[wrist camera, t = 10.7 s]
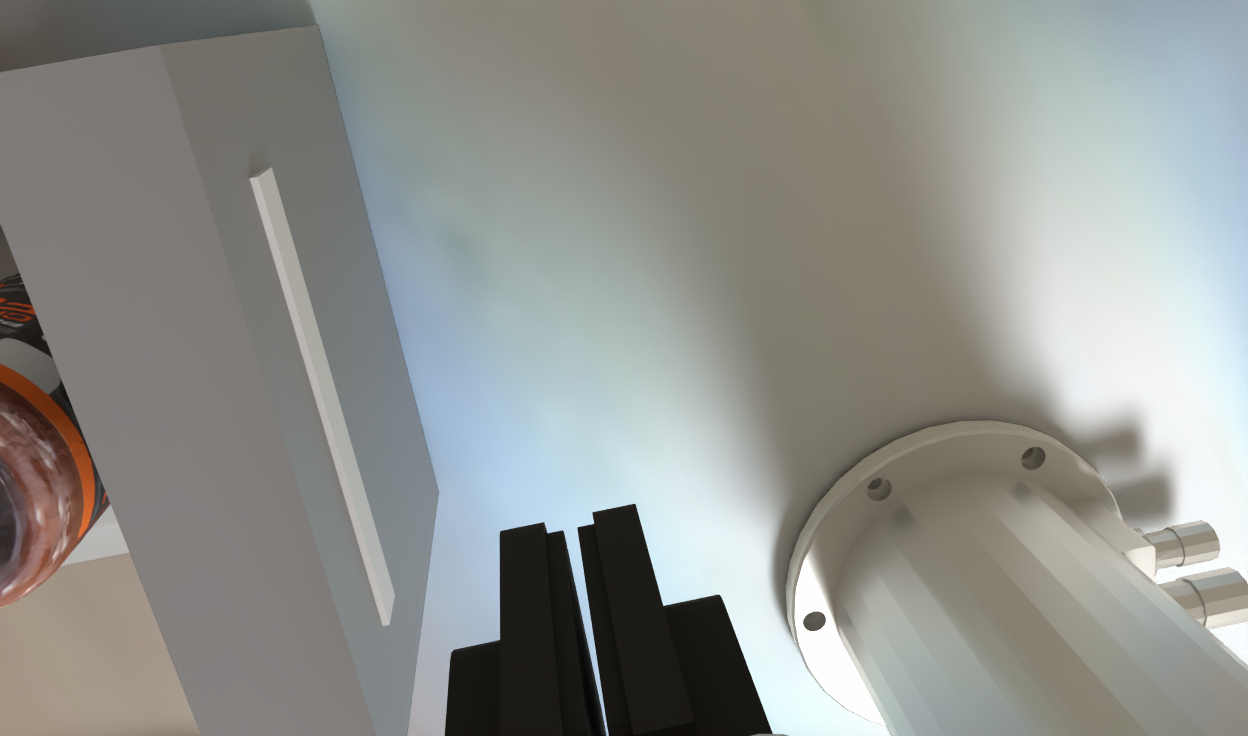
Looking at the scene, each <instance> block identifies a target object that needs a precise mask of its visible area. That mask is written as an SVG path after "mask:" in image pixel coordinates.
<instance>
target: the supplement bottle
mask: <svg viewBox="0 0 1248 736" xmlns="http://www.w3.org/2000/svg"><path fill="white" fill-rule="evenodd" d="M109 505H110V501H109V499H108V496H107V494H106V491H105V489H104V486H103V484H102V481H101V479H100V476H99V473H98V471H97V468H96V466H95V463H94V461H93V458H92V456H91V453H90V451H89V448H88V445H87V443H86V440H85V438H84V435H83V433H82V430H81V428H80V425H79V423H78V420H77V417H76V415H75V412H74V410H73V407H72V405H71V402H70V400H69V397H68V395H67V392H66V389H65V387H64V384H63V382H62V379H61V377H60V374H59V372H58V369H57V367H56V364H55V362H54V359H53V356H52V354H51V351H50V349H49V346H48V344H47V341H46V339H45V336H44V334H43V331H42V328H41V326H40V323H39V321H38V318H37V316H36V313H35V311H34V308H33V306H32V303H31V300H30V298H29V295H28V293H27V290H26V288H25V285H24V283H23V280H22V278H21V275H20V273H18V274H15V275H14V276H9V277H6V278H4V279H2V280H1V281H0V608H2V607H4V606H7V605H9V604H11V603H13V602H15V601H17V600H19V599H21V598H22V597H24V596H26V595H28V594H29V593H31V592H32V591H33V590H35V589H36V588H37V587H39V586H40V585H41V584H42V583H44V582H45V581H46V580H47V579H48V578H49V577H50V576H51V575H52V574H53V573H55V572H56V571H57V569H58V568H59V567H60V566H61V565H62V564H63V562H64V561H65V560H66V559H67V557H68V556H69V555H70V554H71V553H72V551H73V550H74V549H75V548H76V547H77V545H78V544H79V543H80V542H81V541H82V540H83V538H84V537H85V535H86V534H87V533H88V532H89V530H90V529H91V528H92V527H93V526H94V524H95V523H96V522H97V520H98V519H99V518H100V517H101V515H102V514H103V513H104V512H105V510H106V509H107V508H108V507H109Z"/></svg>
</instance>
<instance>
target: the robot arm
mask: <svg viewBox="0 0 1248 736" xmlns="http://www.w3.org/2000/svg"><path fill="white" fill-rule="evenodd" d="M873 480H875V481H874V482H873V483H871V482H872V481H873ZM870 483H871V484H870ZM592 513H593V519H594V524H592V525H587V526H582V527H578V535H579V542H580V549H581V555H582V562H583V568H584V575H585V582H586V588H587V595H588V602H589V608H590V615H591V621H592V628H593V635H594V641H595V648H596V655H597V661H598V668H599V674H600V681H601V688H602V694H603V701H604V708H605V714H606V721H607V727H608V733H609V736H788V735H784V734H773V733H772V731H771V728H770V725H769V723H768V720H767V717H766V715H765V712H764V709H763V707H762V704H761V701H760V698H759V696H758V693H757V690H756V688H755V685H754V682H753V680H752V677H751V674H750V672H749V669H748V666H747V664H746V661H745V658H744V656H743V653H742V650H741V648H740V645H739V642H738V640H737V637H736V634H735V632H734V629H733V626H732V624H731V621H730V618H729V616H728V613H727V610H726V607H725V605H724V602H723V600H722V598H721V596H720V595H714V596H709V597H704V598H700V599H695V600H690V601H685V602H680V603H676V604H671V605H666V606H663V603H662V600H661V596H660V592H659V589H658V585H657V581H656V578H655V574H654V570H653V567H652V563H651V559H650V556H649V552H648V548H647V545H646V541H645V537H644V534H643V530H642V526H641V523H640V519H639V515H638V512H637V508H636V505H635V504H631V505H626V506H622V507H617V508H612V509H607V510H602V511H597V512H592ZM1219 552H1220V546H1219V540H1218V537H1217V535H1216V533H1215V531H1214V529H1213V528H1212V527H1211V526H1210V525H1209V524H1208V523H1207V522H1204V521H1202V520H1200V521H1196V522H1191V523H1186V524H1181V525H1176V526H1171V527H1167V528H1165V529H1164V530H1162V531H1157V532H1152V533H1147V534H1145V533H1144V532H1143V531H1142V530H1140V529H1137V528H1131V527H1130V526H1128V525H1127V524H1126V523H1125V522H1124V520H1123V517H1122V515H1121V512H1120V510H1119V507H1118V505H1117V502H1116V500H1115V497H1114V495H1113V493H1112V492H1111V490H1110V489H1109V487H1108V486H1107V485H1106V483H1105V482H1104V480H1103V479H1102V478H1101V476H1100V475H1099V473H1098V472H1097V471H1096V470H1095V469H1094V468H1092V467H1091V466H1090V465H1089V464H1088V463H1087V462H1085V461H1084V460H1083V459H1082V458H1081V457H1080V456H1079V455H1077V454H1076V453H1075V452H1074V451H1072V450H1071V449H1069V448H1068V447H1066V446H1065V445H1063V444H1062V443H1060V442H1059V441H1058V440H1056V439H1055V438H1053V437H1052V436H1049V435H1046V434H1044V433H1041V432H1039V431H1036V430H1034V429H1031V428H1029V427H1026V426H1023V425H1017V424H1012V423H1006V422H1000V421H994V420H985V421H958V422H953V423H948V424H943V425H938V426H933V427H928V428H925V429H922V430H920V431H917V432H915V433H912V434H909V435H907V436H904V437H902V438H899V439H896V440H894V441H892V442H891V443H889V444H887V445H886V446H884V447H882V448H881V449H879V450H877V451H875V452H874V453H872V454H870V455H869V456H867V457H865V458H864V459H863V460H862V461H860V462H859V463H858V464H857V465H856V466H854V467H853V468H852V469H851V470H850V471H848V472H847V473H846V474H845V475H844V476H842V477H841V478H840V479H839V480H838V481H837V482H836V483H835V484H834V485H833V487H832V488H831V489H830V490H829V491H828V492H827V494H826V495H825V496H824V497H823V498H822V499H821V501H820V502H819V503H818V504H817V505H816V507H815V509H814V510H813V512H812V514H811V515H810V517H809V519H808V521H807V522H806V524H805V526H804V527H803V529H802V531H801V532H800V535H799V538H798V540H797V543H796V546H795V549H794V551H793V554H792V557H791V560H790V563H789V570H788V577H787V583H786V590H785V592H786V607H787V619H788V622H789V626H790V629H791V632H792V636H793V639H794V642H795V645H796V647H797V649H798V651H799V653H800V655H801V657H802V659H803V661H804V663H805V666H806V668H807V670H808V671H809V672H810V674H811V675H812V676H813V678H814V679H815V680H816V682H817V683H818V684H819V686H820V687H821V688H822V690H823V691H824V692H826V693H827V694H828V695H829V696H830V697H832V698H833V699H834V700H835V701H836V702H838V703H839V704H840V705H841V706H842V707H844V708H845V709H847V710H849V711H851V712H853V713H855V714H857V715H859V716H861V717H862V718H864V719H866V720H869V721H872V722H875V723H878V724H881V725H884V726H886V728H887V730H888V731H889V733H890V735H891V736H1248V665H1247V664H1246V663H1244V662H1243V661H1242V660H1241V659H1240V658H1239V657H1238V656H1237V655H1236V654H1234V653H1233V652H1232V651H1231V650H1230V649H1229V648H1228V647H1227V646H1225V645H1224V644H1223V643H1222V642H1221V641H1220V640H1219V639H1218V638H1216V637H1215V636H1214V635H1213V634H1212V633H1211V632H1210V631H1209V629H1214V628H1218V627H1223V626H1228V625H1232V624H1237V623H1242V622H1246V621H1248V584H1247V582H1246V580H1245V579H1244V578H1243V577H1242V576H1241V575H1240V574H1239V573H1238V571H1236V570H1234V569H1231V568H1229V567H1227V568H1222V569H1218V570H1213V571H1208V572H1203V573H1199V574H1194V575H1189V576H1184V577H1181V578H1178V579H1176V580H1175V581H1173V582H1168V583H1163V584H1158V585H1157V584H1156V583H1155V575H1156V572H1157V569H1162V568H1167V567H1171V566H1177V567H1181V566H1186V565H1190V564H1195V563H1200V562H1205V561H1210V560H1213V559H1215V558H1218V555H1219ZM445 736H606V731H605V725H604V720H603V715H602V709H601V705H600V700H599V695H598V690H597V686H596V681H595V676H594V671H593V667H592V662H591V657H590V653H589V648H588V643H587V638H586V634H585V629H584V624H583V620H582V615H581V610H580V605H579V601H578V596H577V591H576V586H575V582H574V577H573V572H572V568H571V563H570V558H569V553H568V549H567V544H566V539H565V535H564V531H563V530H562V531H557V532H552V533H548V534H547V530H546V527H545V524H544V522H543V523H538V524H533V525H528V526H523V527H518V528H513V529H508V530H503V531H500V640H499V641H494V642H489V643H484V644H480V645H475V646H470V647H465V648H460V649H456V650H453V652H452V653H451V659H450V670H449V684H448V698H447V713H446V727H445Z"/></svg>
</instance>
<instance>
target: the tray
mask: <svg viewBox="0 0 1248 736" xmlns="http://www.w3.org/2000/svg"><path fill="white" fill-rule="evenodd" d="M18 273H20V275H21V278H22V280H23V283H24V285H25V288H26V290H27V293H28V295H29V298H30V300H31V303H32V306H33V308H34V311H35V313H36V316H37V318H38V321H39V323H40V326H41V328H42V331H43V334H44V336H45V339H46V341H47V344H48V346H49V349H50V351H51V354H52V356H53V359H54V362H55V364H56V367H57V369H58V372H59V374H60V377H61V379H62V382H63V384H64V387H65V389H66V392H67V395H68V397H69V400H70V402H71V405H72V407H73V410H74V412H75V415H76V417H77V420H78V423H79V425H80V428H81V430H82V433H83V435H84V438H85V440H86V443H87V445H88V448H89V451H90V453H91V456H92V458H93V461H94V463H95V466H96V468H97V471H98V473H99V476H100V479H101V481H102V484H103V486H104V489H105V491H106V494H107V496H108V499H109V501H110V505H109V507H108V508H107V509H106V510H105V512H104V513H103V514H102V515H101V517H100V518H99V519H98V520H97V522H96V523H95V524H94V526H93V527H92V528H91V529H90V530H89V532H88V533H87V534H86V535H85V537H84V538H83V540H82V541H81V542H80V543H79V544H78V545H77V547H76V548H75V549H74V550H73V551H72V553H71V554H70V555H69V556H68V557H67V559H66V560H65V561H64V562H63V564H62V565H61V566H63V565H68V564H73V563H78V562H83V561H88V560H93V559H98V558H103V557H108V556H114V555H119V554H124V553H129V552H130V555H131V557H132V560H133V562H134V565H135V568H136V570H137V573H138V575H139V578H140V580H141V583H142V585H143V588H144V590H145V593H146V596H147V598H148V601H149V603H150V606H151V608H152V611H153V613H154V616H155V618H156V621H157V623H158V626H159V629H160V631H161V634H162V636H163V639H164V641H165V644H166V646H167V649H168V651H169V654H170V657H171V659H172V662H173V664H174V667H175V669H176V672H177V674H178V677H179V679H180V682H181V685H182V687H183V690H184V692H185V695H186V697H187V700H188V702H189V705H190V707H191V710H192V713H193V715H194V718H195V720H196V723H197V725H198V728H199V730H200V733H201V735H202V736H407V733H408V725H409V718H410V710H411V702H412V695H413V687H414V679H415V672H416V664H417V656H418V649H419V641H420V633H421V626H422V618H423V610H424V603H425V595H426V587H427V580H428V572H429V564H430V557H431V549H432V541H433V534H434V526H435V518H436V511H437V503H438V495H439V490H438V486H437V483H436V479H435V475H434V471H433V467H432V463H431V459H430V455H429V452H428V448H427V444H426V440H425V436H424V432H423V428H422V424H421V421H420V417H419V413H418V409H417V405H416V401H415V397H414V394H413V390H412V386H411V382H410V378H409V374H408V370H407V366H406V363H405V359H404V355H403V351H402V347H401V343H400V339H399V336H398V332H397V328H396V324H395V320H394V316H393V312H392V308H391V305H390V301H389V297H388V293H387V289H386V285H385V281H384V278H383V274H382V270H381V266H380V262H379V258H378V254H377V250H376V247H375V243H374V239H373V235H372V231H371V227H370V223H369V219H368V216H367V212H366V208H365V204H364V200H363V196H362V192H361V189H360V185H359V181H358V177H357V173H356V169H355V165H354V161H353V158H352V154H351V150H350V146H349V142H348V138H347V134H346V131H345V127H344V123H343V119H342V115H341V111H340V107H339V103H338V100H337V96H336V92H335V88H334V84H333V80H332V76H331V73H330V69H329V65H328V61H327V57H326V53H325V49H324V45H323V42H322V38H321V34H320V30H319V26H318V25H311V26H303V27H295V28H287V29H279V30H271V31H263V32H255V33H247V34H239V35H231V36H223V37H215V38H207V39H199V40H191V41H183V42H175V43H167V44H159V45H153V46H148V47H142V48H136V49H130V50H125V51H119V52H113V53H107V54H102V55H96V56H90V57H84V58H79V59H73V60H67V61H61V62H56V63H50V64H44V65H38V66H33V67H27V68H21V69H15V70H10V71H4V72H0V281H1V280H2V279H4V278H6V277H9V276H14V275H15V274H18Z"/></svg>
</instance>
